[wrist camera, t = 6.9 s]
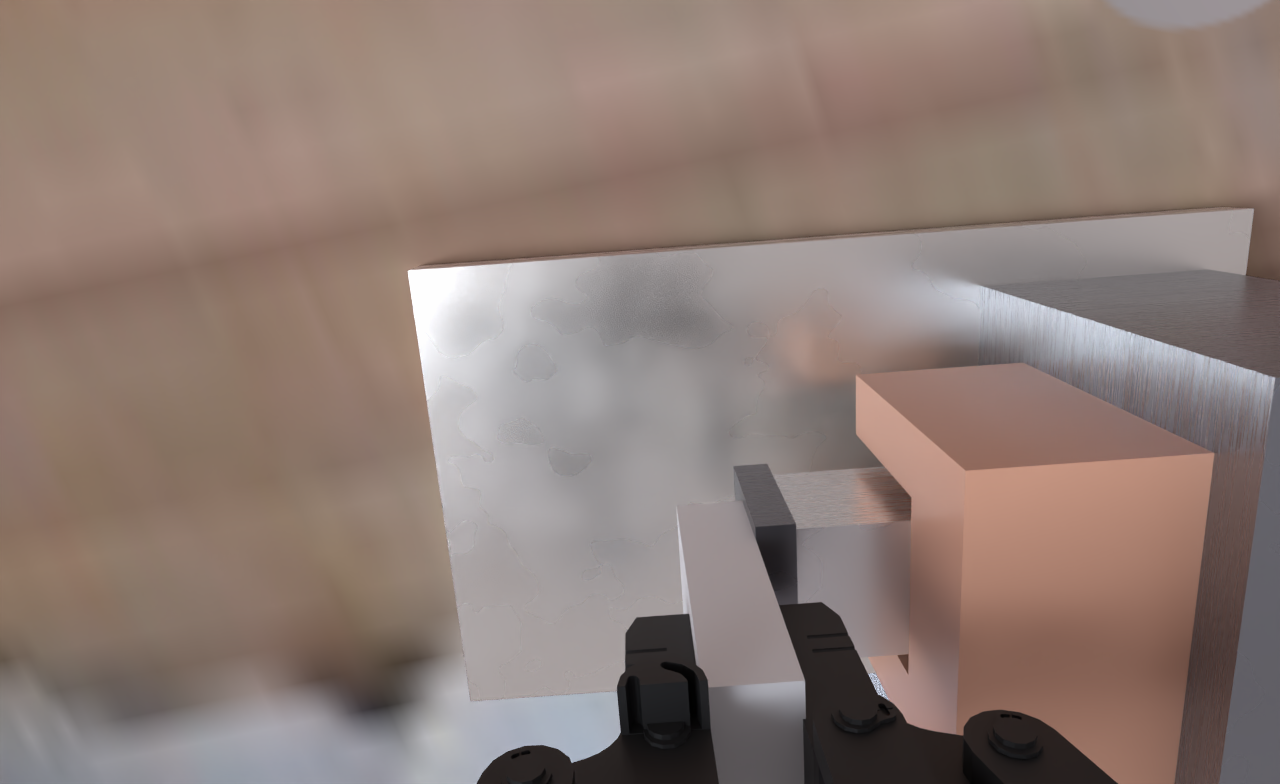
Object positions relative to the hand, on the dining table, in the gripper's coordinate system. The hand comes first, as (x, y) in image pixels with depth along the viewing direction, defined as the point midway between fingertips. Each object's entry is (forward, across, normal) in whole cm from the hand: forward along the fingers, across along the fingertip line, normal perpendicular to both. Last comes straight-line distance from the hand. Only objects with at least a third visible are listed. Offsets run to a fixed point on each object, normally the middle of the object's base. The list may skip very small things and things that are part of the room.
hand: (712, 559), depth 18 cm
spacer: (+2, +6, 0) cm, 6 cm away
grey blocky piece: (+6, +4, 0) cm, 7 cm away
